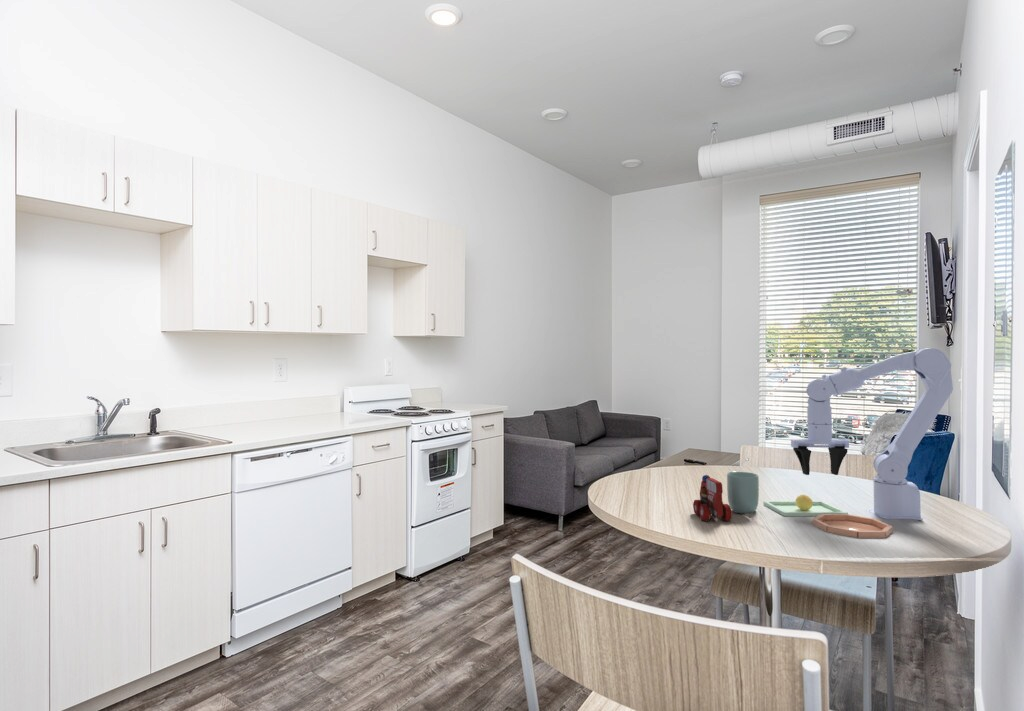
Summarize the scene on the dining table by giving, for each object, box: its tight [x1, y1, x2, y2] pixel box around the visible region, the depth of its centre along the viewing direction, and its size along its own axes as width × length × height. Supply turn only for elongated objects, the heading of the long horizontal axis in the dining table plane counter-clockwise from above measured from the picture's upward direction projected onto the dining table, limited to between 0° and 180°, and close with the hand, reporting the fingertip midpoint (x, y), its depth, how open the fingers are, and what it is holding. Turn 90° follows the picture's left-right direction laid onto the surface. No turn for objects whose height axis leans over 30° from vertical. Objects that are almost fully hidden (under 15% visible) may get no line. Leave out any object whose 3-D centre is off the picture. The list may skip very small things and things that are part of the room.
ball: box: [795, 494, 813, 510], centre depth 146 cm, size 4×4×4 cm
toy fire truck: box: [692, 474, 733, 522], centre depth 141 cm, size 7×12×10 cm, turn 179°
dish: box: [812, 513, 894, 539], centre depth 130 cm, size 15×15×2 cm
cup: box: [726, 471, 760, 515], centre depth 146 cm, size 8×8×10 cm
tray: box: [763, 500, 849, 517], centre depth 146 cm, size 16×12×2 cm
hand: (820, 474), depth 149 cm, fingers open, 7 cm apart
